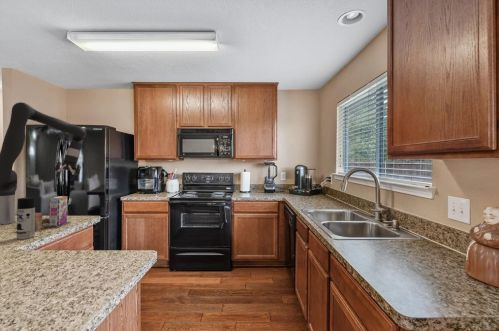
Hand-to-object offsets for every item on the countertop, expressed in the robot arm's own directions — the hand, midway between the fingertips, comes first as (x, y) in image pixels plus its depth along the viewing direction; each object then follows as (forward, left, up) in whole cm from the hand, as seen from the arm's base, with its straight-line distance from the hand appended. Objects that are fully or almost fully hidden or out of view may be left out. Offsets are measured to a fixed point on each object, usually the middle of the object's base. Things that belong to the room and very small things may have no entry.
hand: (64, 179), depth 164 cm
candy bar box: (+6, -16, -26) cm, 31 cm away
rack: (-2, -19, -27) cm, 33 cm away
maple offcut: (-1, -25, -27) cm, 37 cm away
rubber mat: (+6, -16, -27) cm, 32 cm away
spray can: (+6, -41, -27) cm, 49 cm away
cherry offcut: (-1, -25, -22) cm, 34 cm away
